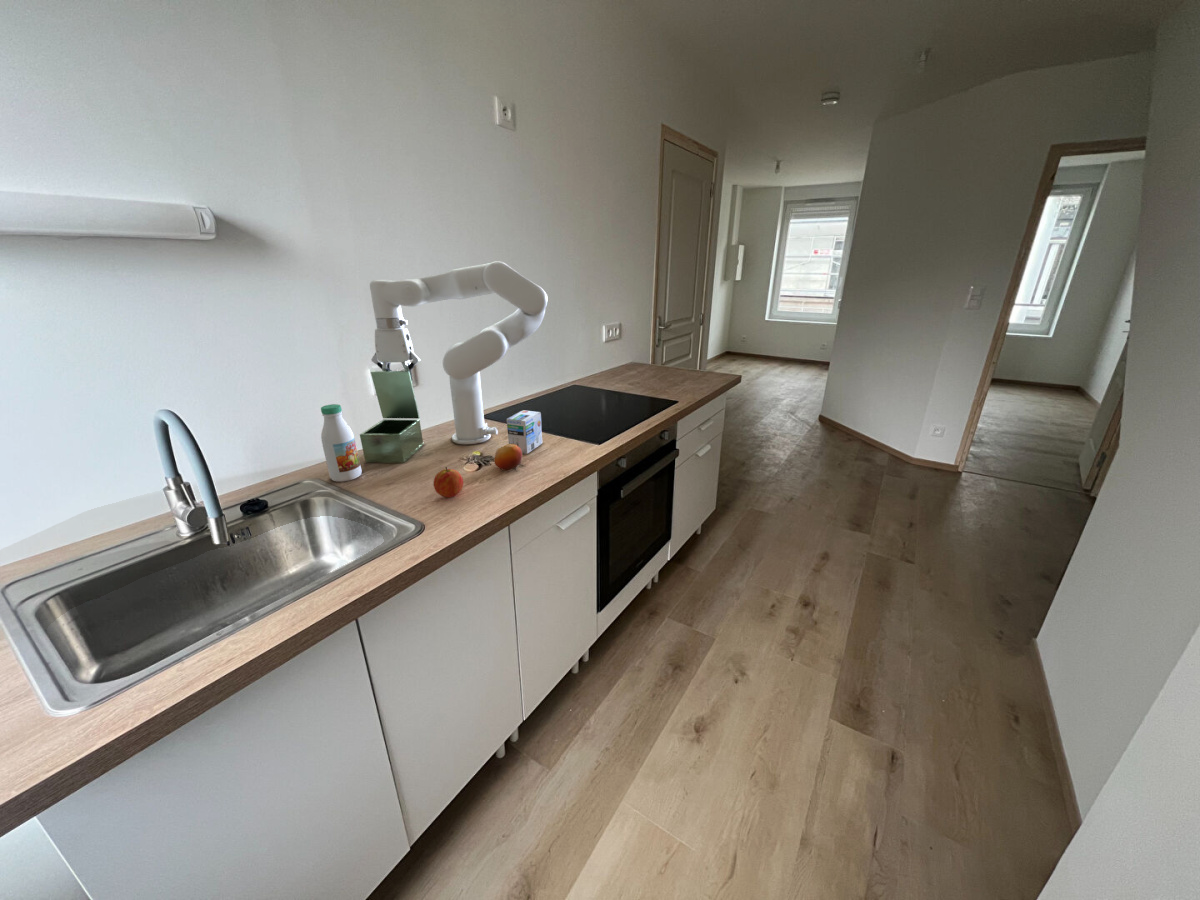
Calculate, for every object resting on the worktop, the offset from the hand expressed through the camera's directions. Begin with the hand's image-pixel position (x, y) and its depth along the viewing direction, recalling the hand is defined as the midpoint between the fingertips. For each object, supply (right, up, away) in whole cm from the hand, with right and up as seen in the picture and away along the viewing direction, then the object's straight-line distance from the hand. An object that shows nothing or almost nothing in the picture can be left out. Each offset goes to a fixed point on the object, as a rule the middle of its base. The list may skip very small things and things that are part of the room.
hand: (399, 382), depth 142 cm
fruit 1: (+26, -33, -29) cm, 51 cm away
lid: (0, -4, -3) cm, 5 cm away
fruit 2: (+37, -26, -12) cm, 47 cm away
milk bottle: (-7, -28, -18) cm, 34 cm away
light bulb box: (+40, -20, +3) cm, 44 cm away
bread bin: (0, -22, -2) cm, 22 cm away
